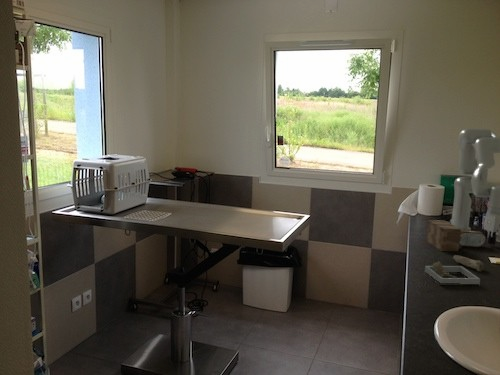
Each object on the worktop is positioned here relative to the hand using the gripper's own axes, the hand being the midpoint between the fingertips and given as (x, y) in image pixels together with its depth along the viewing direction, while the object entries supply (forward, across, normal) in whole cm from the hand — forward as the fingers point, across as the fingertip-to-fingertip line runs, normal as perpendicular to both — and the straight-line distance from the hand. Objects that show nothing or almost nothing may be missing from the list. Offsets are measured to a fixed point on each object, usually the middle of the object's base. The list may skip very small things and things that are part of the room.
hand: (491, 243), depth 243 cm
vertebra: (+2, +45, -49) cm, 66 cm away
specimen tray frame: (+2, +45, -46) cm, 64 cm away
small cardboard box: (+2, 0, -26) cm, 26 cm away
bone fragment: (+2, +30, -30) cm, 43 cm away
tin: (+2, 0, -12) cm, 12 cm away
